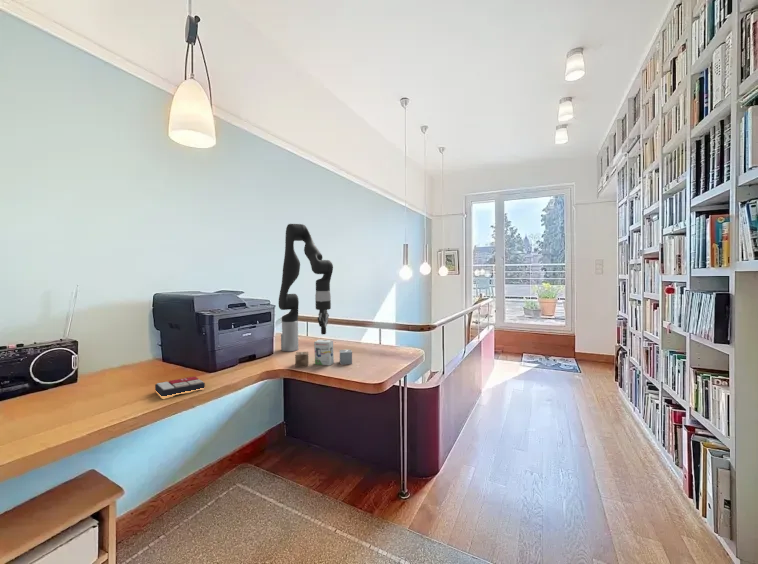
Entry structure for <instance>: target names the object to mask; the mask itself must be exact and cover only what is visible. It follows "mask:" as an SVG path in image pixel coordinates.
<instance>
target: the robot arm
mask: <svg viewBox="0 0 758 564" xmlns="http://www.w3.org/2000/svg"><path fill="white" fill-rule="evenodd" d="M285 229H286V230H285V247H284V249H285V250H284V259H283V265H282V276H281V277H282V278H281V286H280V290H279V296H278V308H279V309H280V310H281V311H288V310H289V312H288V313H286V314H285V315H282V317H281V334H280V351H283V352H296V351H298V350H299V303H300V302H299V296H298V294H296V293H289V290H290V288H291V287H292V285H293V283H295V281H296V280H297V279H298V277H299V275H300V270H301V262H300V260H299V257H298V255H297V254H296V252H295V248H294V247H295V246H294V245H295V244H294V242H297V241H298V242H299V241H300V242H303V243H304V248H303V252H304V255H305V256H306V258H307V259H308V261H309V263H310V268H311V272H313V273H314V274H315V275H322V277H321V278H318V279H317V280H315V295H314V296H315V298H314V299H315V310H317V311H319V312H318V317H317V323H318V325H319V327H320V331H321V332H320V333H321V335H326V334H327V325H328V323H329V317H330V314H329V312H328V310H330V309H332V308H331V307H332V303H331V297H332V296H331V280H332V275H333V269H334V264H333V262H332V261H331V260H328V259H323V254H322V253H321V251H320V249H319V248H318V247H317V246H316V245H315V242H314V240H313V238H312V234H310V233H311V232H310V231H309V228H308V227H307V226H306V224H303V223H302V224H301V223H288V224H287V226H286V228H285Z"/></svg>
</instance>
